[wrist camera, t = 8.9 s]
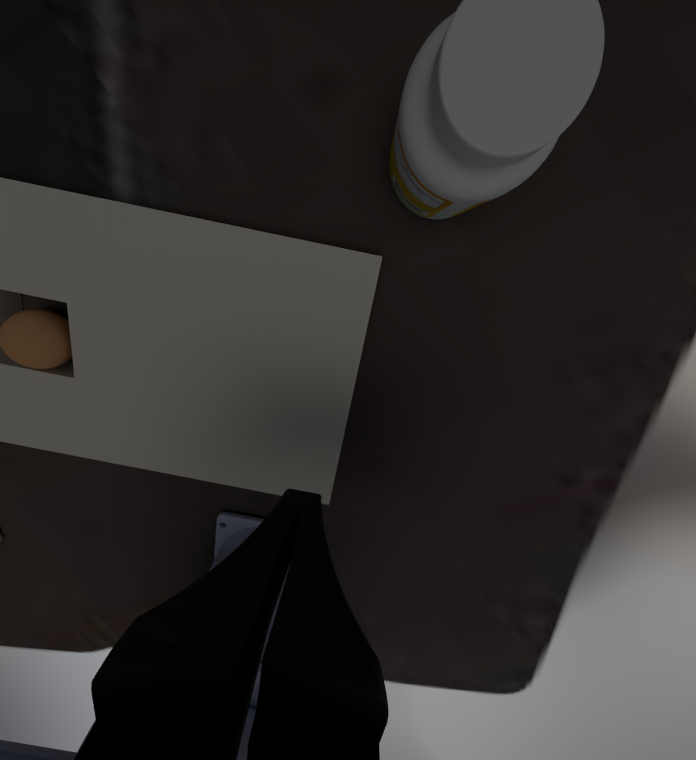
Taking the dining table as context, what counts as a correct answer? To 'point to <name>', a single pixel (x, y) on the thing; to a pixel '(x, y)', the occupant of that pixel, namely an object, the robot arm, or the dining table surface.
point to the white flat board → (183, 341)
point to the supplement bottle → (491, 99)
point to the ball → (36, 339)
